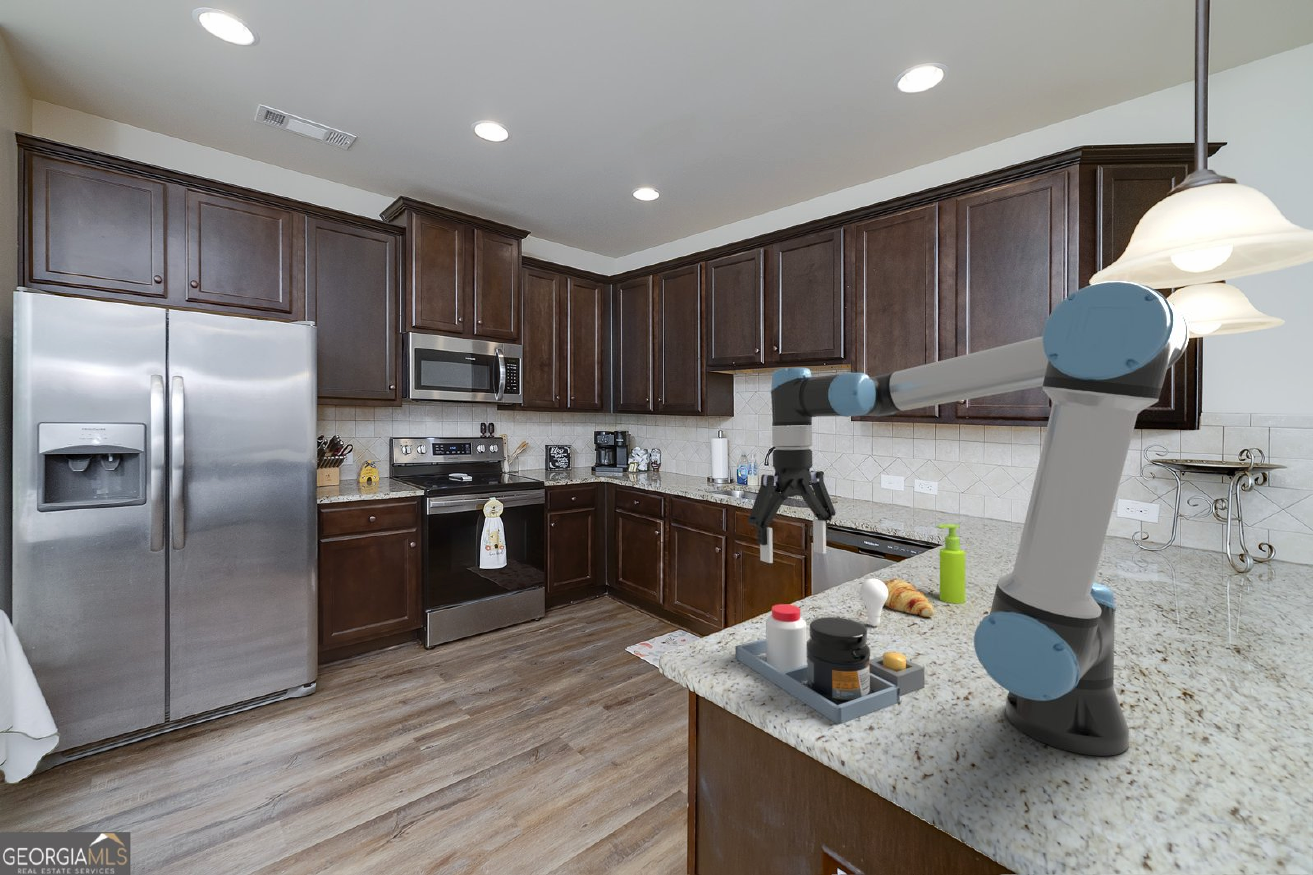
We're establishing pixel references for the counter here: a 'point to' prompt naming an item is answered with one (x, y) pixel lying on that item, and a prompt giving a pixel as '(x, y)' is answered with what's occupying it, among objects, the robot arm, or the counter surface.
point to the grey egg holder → (900, 675)
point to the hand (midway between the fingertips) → (793, 557)
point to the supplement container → (838, 659)
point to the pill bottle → (786, 638)
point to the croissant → (907, 598)
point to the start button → (894, 661)
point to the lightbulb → (874, 599)
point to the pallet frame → (792, 684)
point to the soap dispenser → (952, 568)
